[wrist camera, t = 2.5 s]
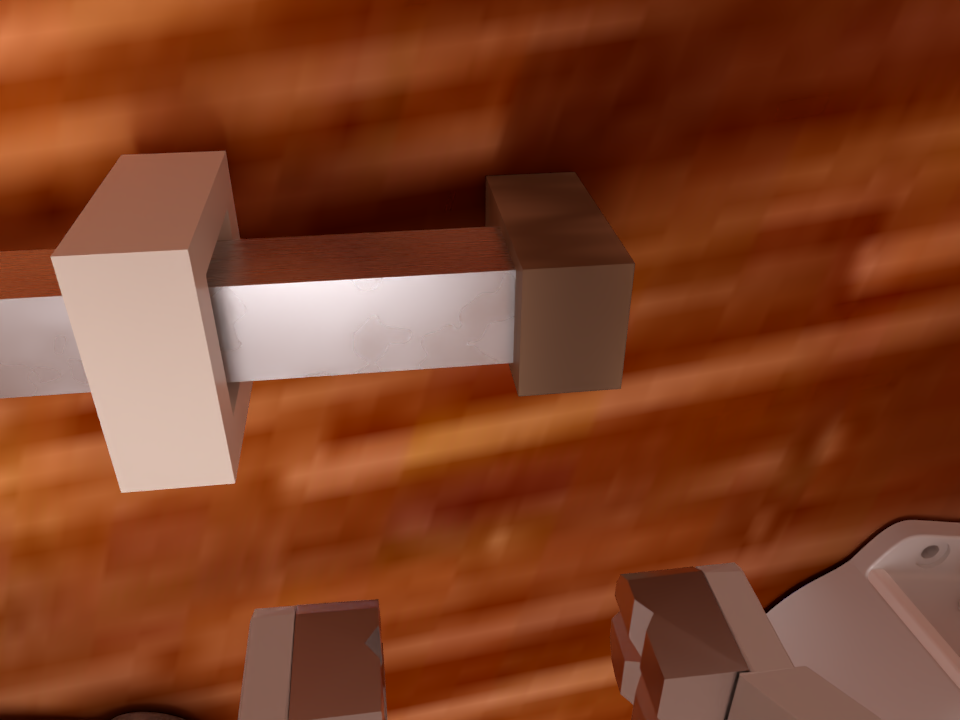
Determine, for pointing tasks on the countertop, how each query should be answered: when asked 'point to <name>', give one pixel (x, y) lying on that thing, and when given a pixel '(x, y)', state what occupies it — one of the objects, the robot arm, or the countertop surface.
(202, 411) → the collar
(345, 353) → the steel rail
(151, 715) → the pipe
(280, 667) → the robot arm
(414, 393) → the countertop surface
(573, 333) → the posts
